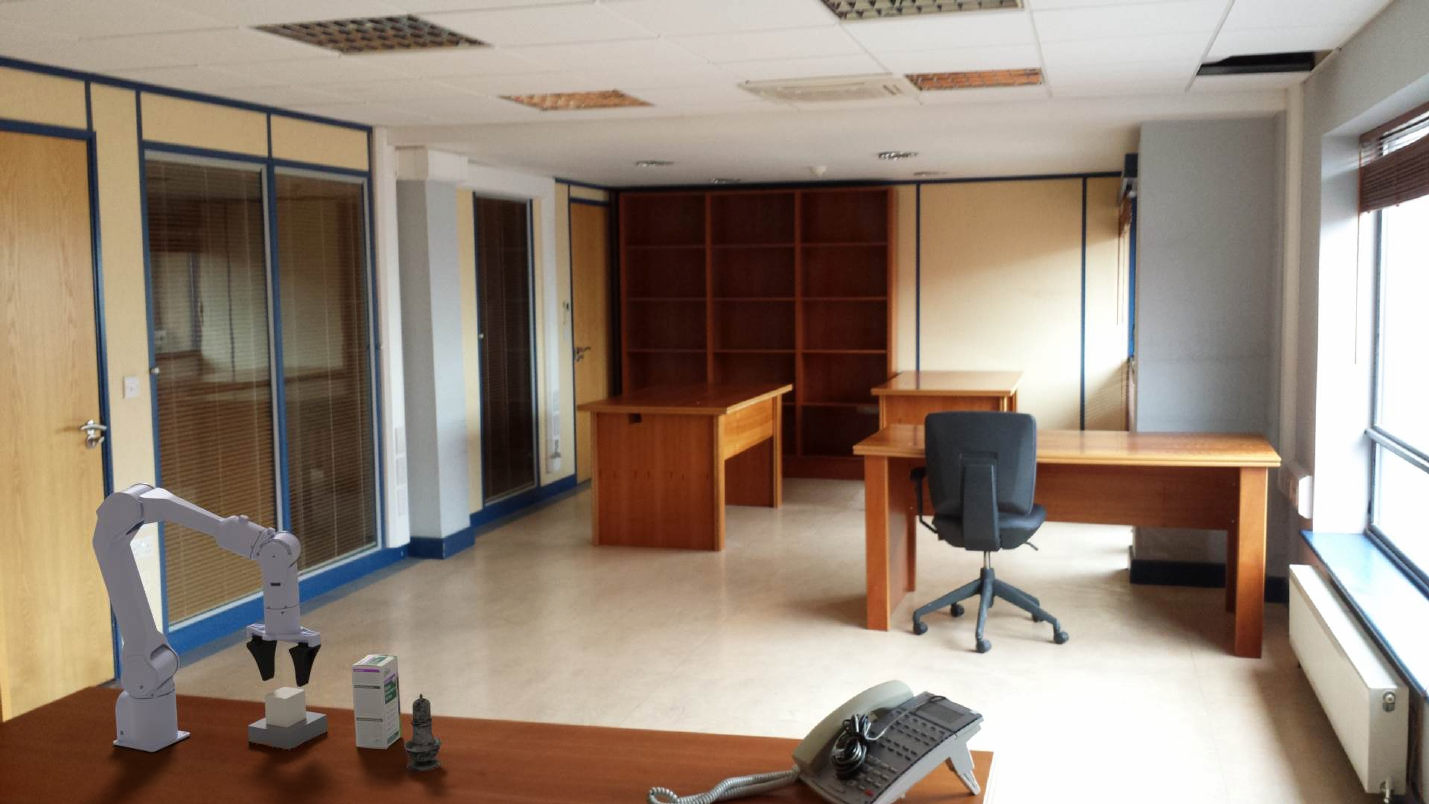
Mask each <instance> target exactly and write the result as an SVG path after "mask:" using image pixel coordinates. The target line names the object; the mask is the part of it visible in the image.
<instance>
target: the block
mask: <svg viewBox="0 0 1429 804" xmlns="http://www.w3.org/2000/svg"><path fill="white" fill-rule="evenodd" d="M327 718H328V717H327V714H324V713H319V712H313V711H308V710H306V718H305V719H303V720H301V721H299V722H297V723H295V724H293V725H291V726H289V727H282V726H276V725H271V724H266V716H265V717H263V718H261V719H259V720H256V721H255V722H253V723H250V724H248V725H247V732H248V742H249V741H253V742H257V743H266V744H269V745H272V746H278V747H281V748H288V749H291V748H294V747H295V746H297V745H299V744H300V743H303V742H305V741H307V740H309V739H311V738H313V737H315V738H317V737H319V736H320V734H321V735H323V734H324V733H326V731H327V732H328V723H327V722H328V719H327ZM318 735H319V736H318ZM316 736H317V737H316ZM313 739H314V738H313ZM311 740H312V739H311ZM309 741H310V740H309ZM307 742H308V741H307ZM294 749H295V748H294Z"/></svg>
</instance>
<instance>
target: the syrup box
mask: <svg viewBox="0 0 1429 804" xmlns="http://www.w3.org/2000/svg"><path fill="white" fill-rule="evenodd" d="M398 660H399V659H398V656H397V655H392V654H384V653H382V654H379V653H377V654H376V653H375V654H367V655H366V656H365V657H364V658H362V659H360V660H358V661H357V662H356V663H354V664H352V665H351V666H350V667H351V684H352V699H353V715H354V728H355V729H354V731H355V746H356V747H358V748H365V749H374V750H375V749H379V750H388V748H389V747H390V746H391V745H393V744H394V743H395V742H397V740H399V739H400V738H401V737H402V736H403V732H402V731H403V730H402V715H401V714H402V713H401V711H402V710H401V698H400V697H401V696H400V682H399V681H400V680H399V679H400V677H399V663H398Z"/></svg>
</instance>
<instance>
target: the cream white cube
mask: <svg viewBox="0 0 1429 804" xmlns="http://www.w3.org/2000/svg"><path fill="white" fill-rule="evenodd" d="M306 702H307V701H306V690H305V689H303V688H296V687H290V686H289V687H288V686H283V687H280V688H277V689H276V690H274V691H271V692H269V693H267V694H264V709H265V717H266V724H271V725H276V726H282V727H289V726H291V725H293V724H295V723H297V722H299V721H301V720H303V719H305V718H306V711H307V709H306V708H307V707H306Z"/></svg>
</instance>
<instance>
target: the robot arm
mask: <svg viewBox="0 0 1429 804" xmlns="http://www.w3.org/2000/svg"><path fill="white" fill-rule="evenodd" d="M95 512H96V516H97V518H96V519H97V520H96V523H95V528H94V532H93V537H92V543H91V544H92V548H93V551H94V555H95V557H96V560H97V563H98V566H99V569H100V573H101V575H102V579H103V581H104V582H103V583H104V585H105V589H106V591H107V594H108V597H109V600H110V601H109V602H110V604H111V606H112V610H113V613H114V616H115V620H116V622H117V625H118V629H119V632H120V635H121V638H122V641H123V646H122V650H121V653H120V656H119V661H120V664H121V675H120V683H121V686H122V688H123V690H122V692H121V693H120V694H119V695H118V697H117V698H116V699H117V700H116V702H115V703H116V704H115V708H114V709H115V723H116V724H115V725H116V737H117V738H116V740H113V741H112V742H113V743H112V744H113V745H114V746H120V747H125V748H131V749H136V750H138V751H139V750H140V751H146V752H149V753H154V752H157V751H159V750H161V749H164V748H165V747H168V746H170V745H172V744H174V743H177V742H179V741H181V740H183V739H186V738H188V737H189V736H190V735H191V733H190V732H188V731H181V730H178V729H179V728H178V714H177V697H176V684H175V681H174V676H175V675H176V674H177V672H178V671H179V668H180V664H181V662H180V657H179V655H178V653H177V651H176V650H175V649H173V648H172V646H171V645H170V643H169V640H168V638H167V636H166V635H164V633H162V632H161V631H159V630H158V628H157V624H156V622H155V619H154V615H153V613H152V609H151V606H150V604H149V600H148V597H147V593H146V590H145V587H144V584H143V581H142V578H141V575H140V572H139V568H138V565H137V563H136V559H135V555H134V553H133V550H132V547H131V546H132V545H131V542H132V541H133V539H134V538H135V536H136V535H137V534H138V532H139V530H140V529H141V527H143V526H144V525H148V524H155V523H158V522H159V523H160V522H164V521H165V522H166V521H169V522H172V523H175V524H177V525H181V526H183V527H185V528H188V529H191V530H194V531H197V532H201V533H203V534H206V535H209V536H211V537H213V538H214V540H215V542H216V544H217V546H218V547H219V548H221V549H225V550H227V551H228V552H231V553H234V554H236V555H239V556H241V557H244V558H246V559H249V560H251V561H254V562H256V563H257V565H258V567H259V568H260V569H261V571H262V595H263V598H262V599H263V614H264V615H263V616H264V623H263V624H262V623H260V624H259V623H253V624H250V625H247V626H245V630H246V638H249V639H251V640H250V641H247V642H246V643H245V644H246V648H247V650H248V651H249V652H250V654H251V655H252V657H253V659H254V661H255V663H256V666H257V668H258V671H259V673H260V677H261V680H262V681H264V682H267V681H269V680H271V679H272V680H273V679H274V678H275V672H276V658H275V657H276V651H277V645H278V641H280V642H285V643H293V644H297V645H295V646H293V647H290V648H288V653H289V655H290V657H291V659H292V663H293V668H294V675H295V676H294V677H295V684H296V687H299V688H302V687H304V686H307V685H308V684H309V682H310V678H311V672H312V668H313V665H314V661H315V659H316V657H317V655H318V653H319V651H320V649H321V647H322V641H321V640H322V639H321V632H318V631H317V632H316V631H313V630H310V629H308V628H306V627H303V626H301V609H300V585H299V573H298V561H297V560H298V559H299V557H300V555H301V552H302V547H301V546H302V545H301V542H300V540H299V539H298V537H296V535H294V534H292V533H290V531H288V530H281V531H280V530H278V531H276V529H275V528H273V527H271V526H270V527H268V528H267V527H264V526H261V525H259V524H257V523H254V522H252V521H249V520H250V517H249V516H247V515H244V514H241V515H239V516H238V515H230V516H228V517H226V518H223V517H221V516H220V515H217V514H215V513H213V512H211V511H209V510H206V509H205V508H202V507H200V506H197V505H196V504H194V503H191V502H190V501H187V500H185V499H183V498H181V497H179V496H177V495H175V494H174V493H171V492H170V491H168V490H167V489H165V488H162V487H155V486H154V485H152V484H150V483H147V482H137V483H135V484H133V485H130V486H129V487H127V488H125V489H122V490H120V491H117V492H114V493H111V494H109V495H108V496H107V497H105V499H104V500H103V502H101V504H100V505H99V507H98V508H97V509H96V510H95Z"/></svg>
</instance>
